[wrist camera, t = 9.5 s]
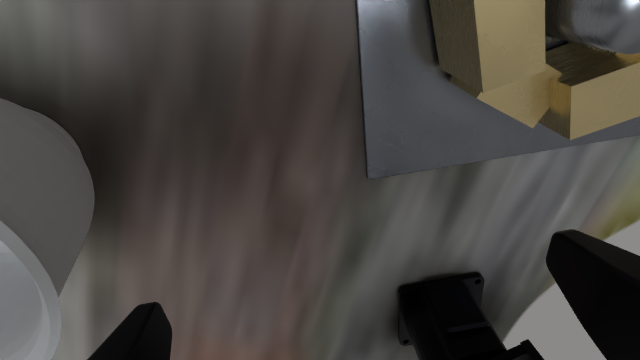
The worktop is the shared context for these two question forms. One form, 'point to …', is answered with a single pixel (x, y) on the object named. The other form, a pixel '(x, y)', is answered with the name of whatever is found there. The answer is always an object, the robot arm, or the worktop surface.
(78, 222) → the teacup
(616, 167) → the worktop surface
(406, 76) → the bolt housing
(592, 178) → the worktop surface
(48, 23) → the worktop surface
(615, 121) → the copper cylinder with bracket
